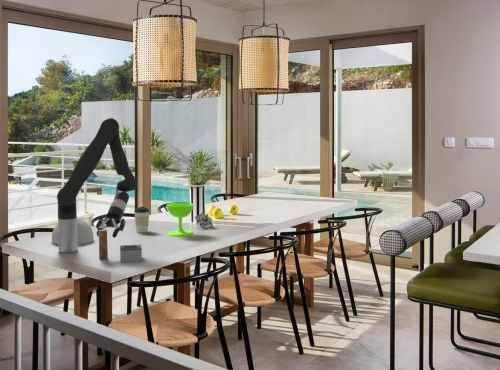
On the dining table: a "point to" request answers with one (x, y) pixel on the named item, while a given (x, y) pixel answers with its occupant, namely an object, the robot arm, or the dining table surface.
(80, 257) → the dining table surface
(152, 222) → the dining table surface
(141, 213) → the coffee cup
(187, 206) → the wineglass
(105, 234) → the walnut peg
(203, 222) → the passion flower
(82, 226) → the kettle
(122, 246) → the collar
